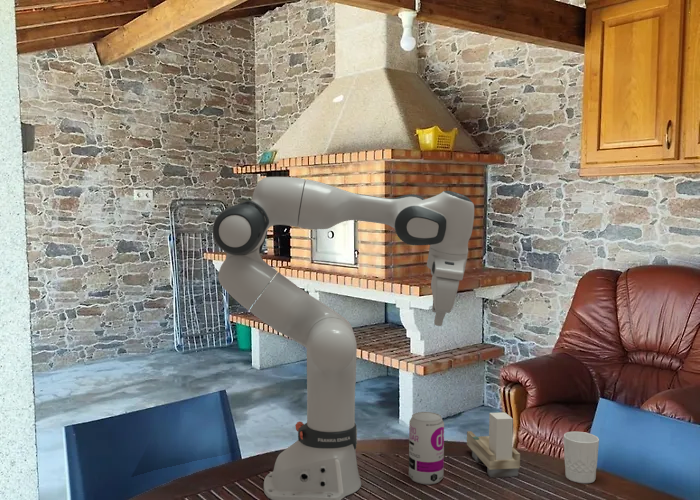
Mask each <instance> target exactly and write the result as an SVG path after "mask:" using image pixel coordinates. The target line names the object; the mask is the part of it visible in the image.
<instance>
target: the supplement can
mask: <svg viewBox="0 0 700 500" xmlns="http://www.w3.org/2000/svg"><path fill="white" fill-rule="evenodd" d="M408 430H409V433H408V435H409V436H408V437H409V438H408V446H409V447H408V450H409V451H408V477H409V478H410V479H411V480H412V481H413V482H415V483H417V484H421V485H435V484H437V483H439V482H441V480H442V479H443V478H444V471H445V470H444V469H445V468H444V465H445V463H444V460H445V459H444V457H445V456H444V455H445V447H444V446H445V422H444V421H443V417H442V415H441V414H439V413H436V412H431V411H418V412H414V413H413V414H412V415H411V418H410V419H409V426H408Z"/></svg>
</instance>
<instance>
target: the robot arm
mask: <svg viewBox="0 0 700 500" xmlns="http://www.w3.org/2000/svg"><path fill="white" fill-rule="evenodd" d="M474 220H475V205H474V202H473V201H472V199H470V198H469V197H468V196H466V195H463V193H462V194H461V193H458V192H456V191H452V190H443V191H442V192H440V193H438V194H436V195H433V196H432V197H429V198H424V197H423V196H420V195H417V194H410V193H409V194H404V195H401V196H397V197H382V196H374V195H367V194H360V193H354V192H351V191H348V190H344V189H342V188H339V187H336V186H333V185H330V184H328V183H323V182H320V181H316V180H313V179H312V180H311V179H306V178H300V177H291V176H266V177H264V178H262V179H260V180H259V181H258V183H257V184H256V186H255V187H254V190H253V193H252V197H251V199H250V200H246V201H243V202H241V203H237V204H234V205H231V206H228V207H227V208H225V209H223V210H222V211H221V212H220V213H219V214H218V215H216V218H215V219H214V221H213V225H212V236H213V239H214V241H215V244H216V245H217V246H218V247H219V248H220V249H221V251H223V252H225V253H226V255H225V256H226V257H225V260H224V261H223V262H222V264H221V265H220V267H219V271H218V277H217V278H218V281H219V284H220V285H221V287H222V288H223V289H224V290H225V291H226V292H227V293H228V294H229V295H230V296H231V298H233V299H234V300H235V301H236V302H238V303H239V304H240V305H241V306H242V307H244V309H246V310H247V311H248V312H250V313H251V314H252V315H254V316H256V318H258V319H260V321H262V322H263V323H265V325H267V326H269V328H272V329H273V330H275V331H276V332H277V333H280V334H282V335H284V336H285V337H288V338H290V339H291V340H293V341H294V342H297V343H298V344H300V345H301V346H303V347H304V348H305V349H306V403H307V404H306V423H303V421H297V422H296V423H295V431H296V432H297V439H298V440H296V441H294V442H293V443H292V444H291V445H290V446H288V447H287V448H285V449H283V451H282V452H280V453H279V454H278V456H277V458H276V460H275V463H274V466H273V471H270V472H269V473H268V474H267V475H266V476H265V477H264V481H263V492H264V494H265V495H266V497H267V498H268V499H270V500H343V499H344V498H345V497H347V496H349V495H352V494H354V493H356V492H357V491H358V490H360V488H361V487H362V482H361V477H360V473H359V470H358V469H359V468H358V462H357V461H358V460H357V452H356V449H357V444H358V428H357V425H356V419H355V418H356V416H355V415H356V380H357V378H356V377H357V356H358V355H357V354H358V353H357V352H358V351H357V349H358V348H357V346H358V343H357V339H356V336H355V332H354V329H353V326H352V324H351V323H350V322H349V321H348V320H347V318H346V317H344V316H342V315H341V314H339V313H338V312H337V311H336V310H333V309H332V308H330V307H329V306H328V305H326V304H324V303H323V302H322V301H320V300H319V299H317V298H316V297H314V296H312V295H311V294H309V293H307V292H306V291H305V290H303V289H302V288H301V287H299V286H298V285H297V284H295V283H294V282H293V281H291V280H290V279H288V278H287V277H286V276H285V275H284V274H282V273H280V272H279V271H278V270H276V269H275V268H273V267H272V266H271V265H269V264H268V262H266V261H265V260H264V259H263V258H262V256H261V252H262V250H263V247H264V243H265V242H266V239H267V236H268V230H269V229H270V228H271V227H273V226H279V225H281V226H289V227H294V228H300V229H308V230H327V229H331V228H333V227H334V226H336V225H338V224H341V223H343V222H347V221H360V222H367V223H375V224H382V225H387V226H389V227H391V228H392V229H394V231H395V234H396V236H397V238H398V239H400V240H401V241H402V242H403V243H405V244H407V245H410V246H429V250H428V254H427V255H428V256H427V262H426V267H427V268H428V269H429V270H430V274H431V276H432V277H431V283H430V288H431V289H430V290H431V294H432V307H431V310H432V313H435V316H434V321H433V322H434V325H435V326H437V327H442V326H443V323H444V319H445V316H446V315H447V314H449V313H451V312H452V309H453V308H454V305H455V302H456V301H455V300H456V297H457V293H458V290H459V285H460V281H463V278H464V274H465V271H466V265H467V261H468V255H469V242H470V239H471V237H472V233H473V228H474Z"/></svg>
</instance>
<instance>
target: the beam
mask: <svg viewBox="0 0 700 500" xmlns="http://www.w3.org/2000/svg"><path fill="white" fill-rule="evenodd" d="M466 445H467V446H468V448H469V449H470V450H471V457H472V458H473V459H474V460H475V462H476V463H483V464H484V465H485V466H486V467H487V470H486V471H487V473H486V475H487V476H488V477H489V478H506V477H507V478H508V477H518V476H519V469H520V468H521V453H520V452H518V450H517V449H516V448H514V447H513V446H512V460H495V455H494V454H493V453H492V452H491V451H490V450H489V435H484V436H483V435H482V436H477V435H476V434H475V433H474V432H473V431H470V430H467V431H466Z"/></svg>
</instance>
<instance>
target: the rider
mask: <svg viewBox="0 0 700 500" xmlns="http://www.w3.org/2000/svg"><path fill="white" fill-rule="evenodd" d="M488 421H489V423H488V424H489V425H488V426H489V427H488V429H489V430H488V436H489V450H490V451H491V452H492V453H493V454H494V455H495V460H512V447H513V437H514V436H513V428H514V425H513V424H514V418H512V416H510V415H509V414H507V412H489V419H488Z"/></svg>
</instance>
